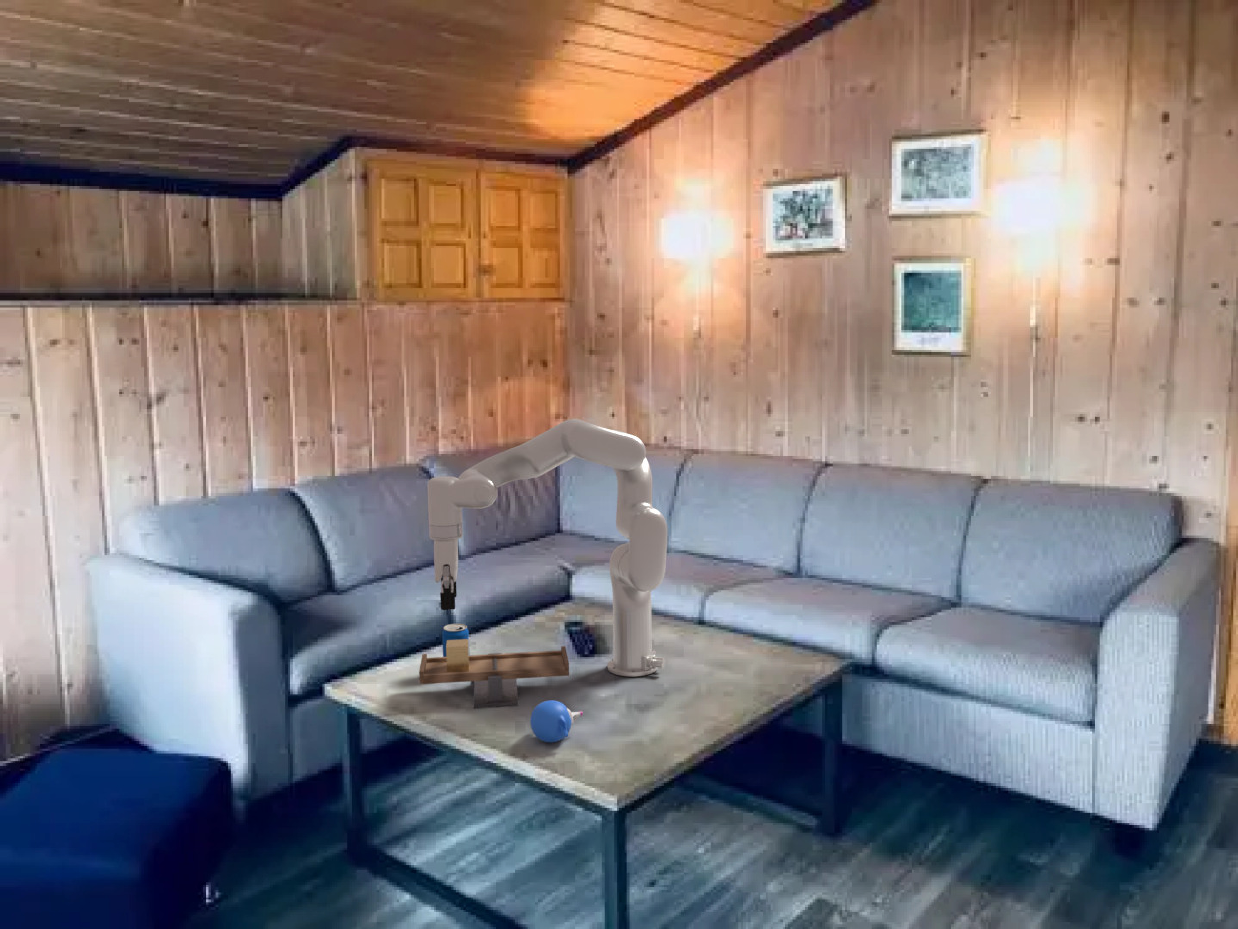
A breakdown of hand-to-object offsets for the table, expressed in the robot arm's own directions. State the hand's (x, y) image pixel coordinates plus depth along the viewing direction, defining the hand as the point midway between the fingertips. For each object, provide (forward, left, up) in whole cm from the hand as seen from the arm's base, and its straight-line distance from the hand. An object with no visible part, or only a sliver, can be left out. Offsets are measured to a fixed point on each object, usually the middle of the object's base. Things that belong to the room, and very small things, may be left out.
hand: (448, 603), depth 244 cm
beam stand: (-8, -6, -22) cm, 24 cm away
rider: (-1, -1, -16) cm, 16 cm away
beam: (-8, -6, -16) cm, 19 cm away
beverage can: (+8, -12, -22) cm, 27 cm away
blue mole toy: (-35, +9, -22) cm, 43 cm away
